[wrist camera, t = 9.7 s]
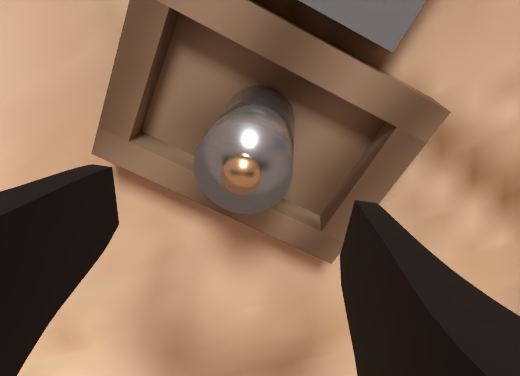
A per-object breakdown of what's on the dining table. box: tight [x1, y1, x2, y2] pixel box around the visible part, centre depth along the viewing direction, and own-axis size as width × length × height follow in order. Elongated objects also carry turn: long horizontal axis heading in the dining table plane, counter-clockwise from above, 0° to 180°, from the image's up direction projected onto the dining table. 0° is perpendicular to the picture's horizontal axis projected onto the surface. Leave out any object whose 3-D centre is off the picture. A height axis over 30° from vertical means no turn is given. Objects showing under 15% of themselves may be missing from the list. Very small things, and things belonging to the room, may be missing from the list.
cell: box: [194, 85, 295, 214], centre depth 15 cm, size 4×4×6 cm
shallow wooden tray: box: [92, 0, 451, 264], centre depth 17 cm, size 14×10×2 cm
